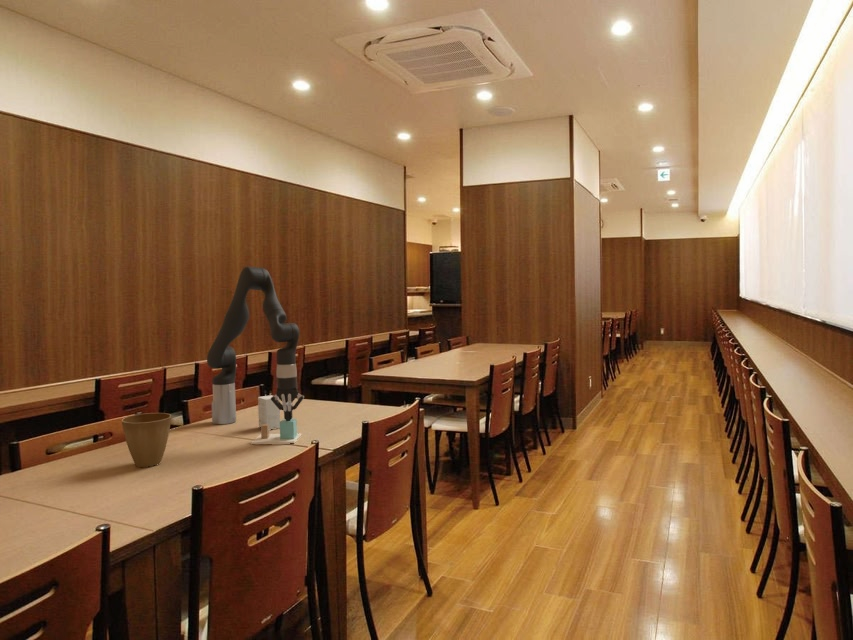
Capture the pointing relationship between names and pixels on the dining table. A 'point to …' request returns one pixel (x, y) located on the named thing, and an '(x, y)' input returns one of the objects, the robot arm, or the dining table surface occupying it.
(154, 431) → the plant pot
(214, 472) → the dining table surface
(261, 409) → the small box
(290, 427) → the teal block
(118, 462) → the dining table surface
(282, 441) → the post board
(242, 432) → the dining table surface
